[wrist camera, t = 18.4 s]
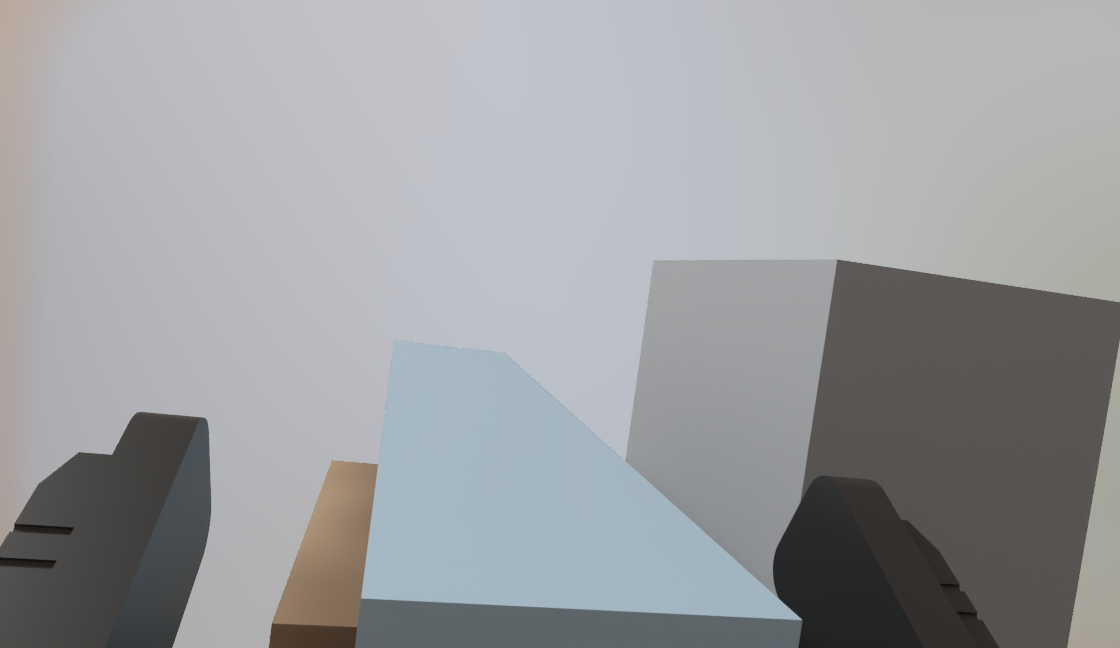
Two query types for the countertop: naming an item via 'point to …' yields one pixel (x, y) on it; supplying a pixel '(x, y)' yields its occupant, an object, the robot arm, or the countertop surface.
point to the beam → (534, 528)
